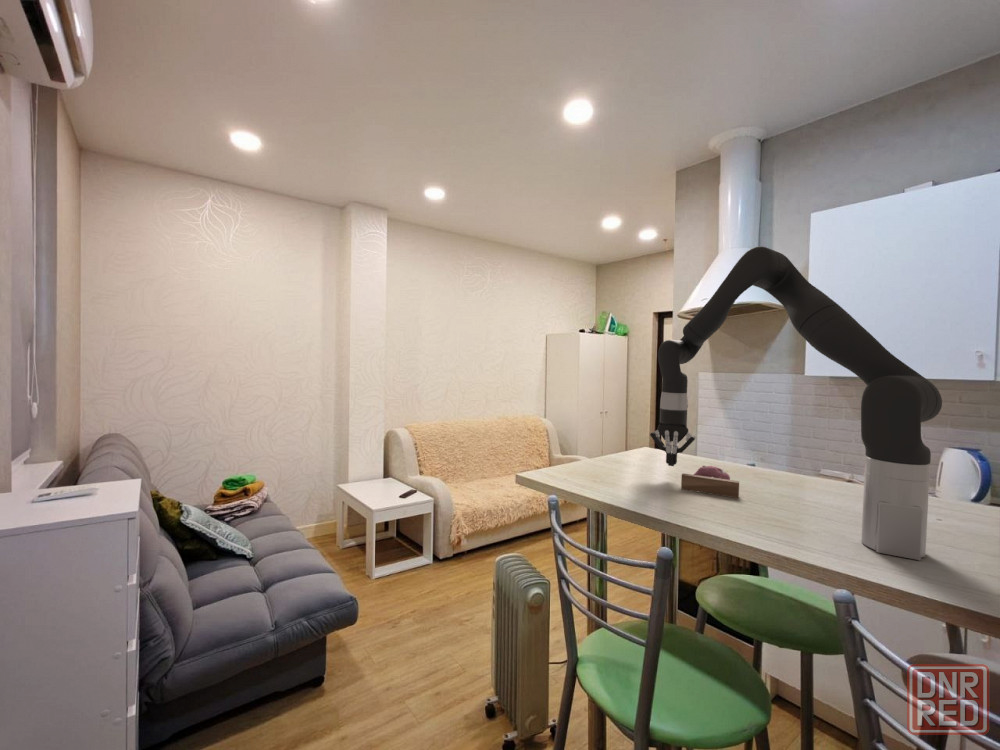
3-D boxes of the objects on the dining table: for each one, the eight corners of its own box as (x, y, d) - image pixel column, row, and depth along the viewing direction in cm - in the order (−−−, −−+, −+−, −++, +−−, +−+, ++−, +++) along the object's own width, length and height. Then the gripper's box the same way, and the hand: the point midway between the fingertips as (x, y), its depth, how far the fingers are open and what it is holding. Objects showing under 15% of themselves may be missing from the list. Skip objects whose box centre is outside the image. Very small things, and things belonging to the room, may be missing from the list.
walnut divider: (738, 498, 115) (739, 482, 115) (681, 489, 122) (681, 474, 122) (738, 496, 117) (739, 481, 116) (682, 487, 124) (682, 473, 124)
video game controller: (726, 497, 121) (735, 473, 122) (715, 491, 119) (724, 467, 120) (697, 487, 130) (706, 465, 131) (687, 481, 128) (696, 459, 129)
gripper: (647, 407, 131) (645, 464, 131) (696, 410, 124) (693, 471, 124) (653, 404, 137) (651, 460, 138) (699, 408, 130) (697, 466, 131)
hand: (671, 465), depth 131 cm, fingers closed
